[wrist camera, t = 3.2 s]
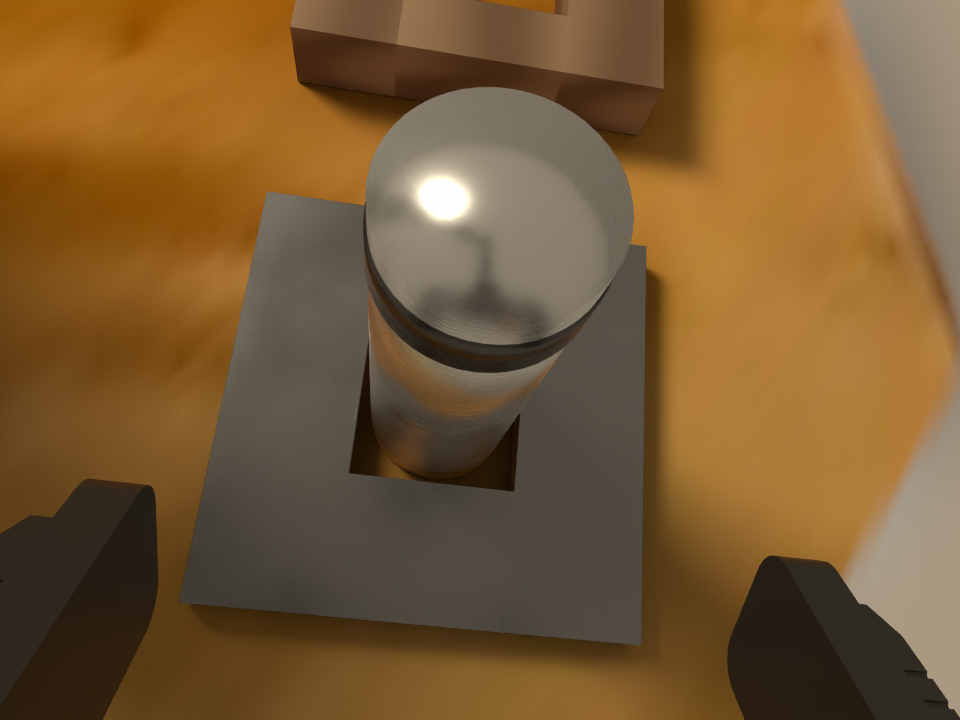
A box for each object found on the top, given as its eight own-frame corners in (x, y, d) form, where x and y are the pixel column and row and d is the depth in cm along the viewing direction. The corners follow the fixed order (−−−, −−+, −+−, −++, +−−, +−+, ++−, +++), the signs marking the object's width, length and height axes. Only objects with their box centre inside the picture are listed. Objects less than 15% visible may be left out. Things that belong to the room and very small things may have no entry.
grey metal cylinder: (360, 472, 21) (342, 307, 10) (378, 339, 23) (382, 64, 11) (500, 487, 22) (634, 345, 10) (510, 356, 23) (639, 107, 12)
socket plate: (188, 603, 20) (178, 602, 19) (271, 208, 24) (267, 191, 23) (629, 644, 21) (641, 645, 20) (636, 260, 25) (646, 246, 24)
